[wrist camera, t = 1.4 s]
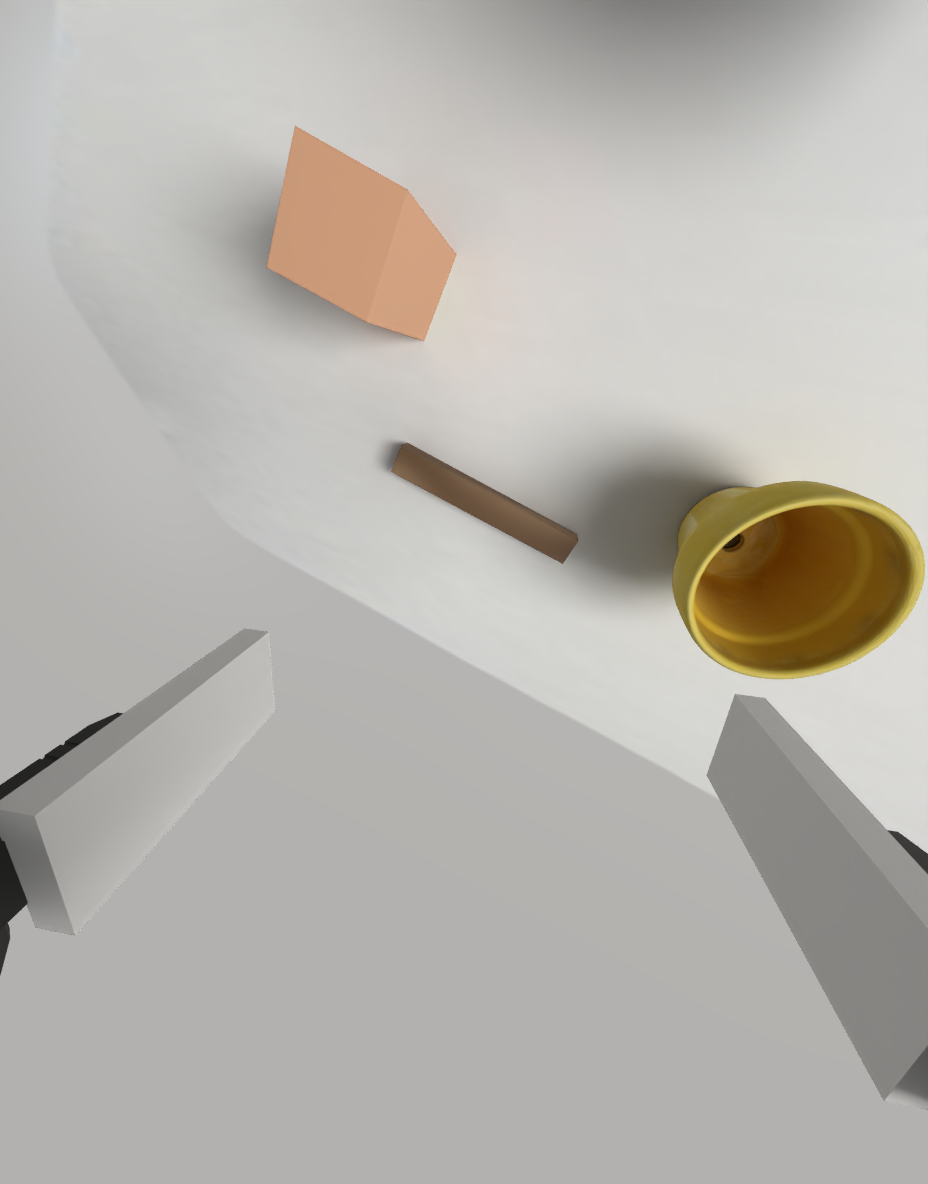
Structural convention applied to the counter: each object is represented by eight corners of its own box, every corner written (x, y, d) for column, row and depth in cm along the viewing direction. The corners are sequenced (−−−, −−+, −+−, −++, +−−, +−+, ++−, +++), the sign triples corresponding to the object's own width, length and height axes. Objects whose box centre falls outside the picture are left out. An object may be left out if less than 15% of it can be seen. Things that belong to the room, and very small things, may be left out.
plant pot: (750, 623, 33) (821, 710, 24) (622, 570, 33) (647, 638, 24) (853, 495, 28) (988, 546, 19) (703, 434, 28) (771, 457, 19)
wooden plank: (407, 443, 32) (401, 445, 30) (576, 534, 32) (578, 540, 31) (397, 468, 33) (391, 471, 31) (562, 556, 33) (562, 563, 32)
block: (382, 212, 26) (294, 125, 17) (456, 254, 26) (407, 189, 18) (355, 303, 28) (266, 267, 20) (424, 340, 29) (366, 322, 20)
